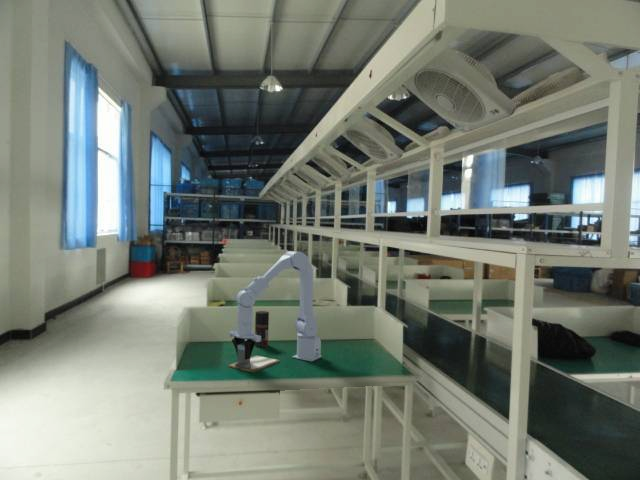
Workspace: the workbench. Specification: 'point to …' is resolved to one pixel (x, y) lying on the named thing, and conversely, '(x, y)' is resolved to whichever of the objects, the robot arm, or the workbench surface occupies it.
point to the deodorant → (262, 327)
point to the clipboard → (255, 364)
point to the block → (242, 354)
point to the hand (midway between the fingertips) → (243, 357)
